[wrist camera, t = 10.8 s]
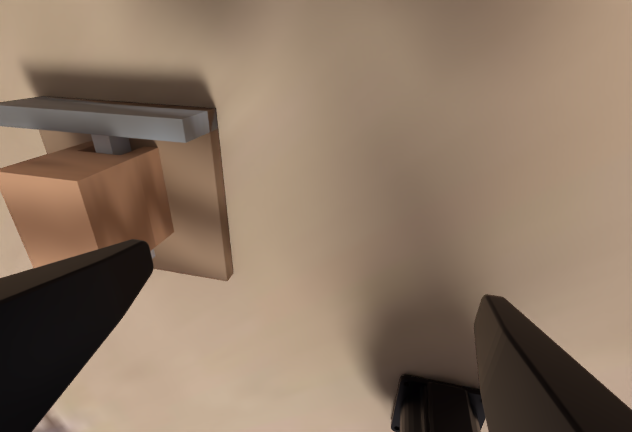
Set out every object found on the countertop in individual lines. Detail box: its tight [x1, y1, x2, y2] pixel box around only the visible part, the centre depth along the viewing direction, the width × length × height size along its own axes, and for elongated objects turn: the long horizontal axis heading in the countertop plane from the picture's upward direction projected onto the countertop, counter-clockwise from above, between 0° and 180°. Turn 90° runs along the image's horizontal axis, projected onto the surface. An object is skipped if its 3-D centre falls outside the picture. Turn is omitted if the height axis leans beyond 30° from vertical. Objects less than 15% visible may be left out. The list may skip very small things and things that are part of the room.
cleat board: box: [0, 96, 233, 281], centre depth 23 cm, size 12×12×4 cm
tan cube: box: [0, 141, 174, 268], centre depth 20 cm, size 6×5×6 cm
